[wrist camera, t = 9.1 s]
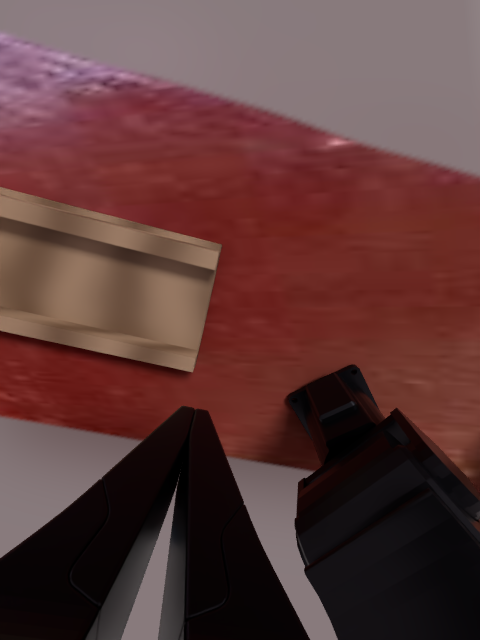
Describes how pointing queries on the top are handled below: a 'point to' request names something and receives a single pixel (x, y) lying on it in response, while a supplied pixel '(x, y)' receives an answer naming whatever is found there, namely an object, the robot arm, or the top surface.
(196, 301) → the chute
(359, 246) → the top surface
